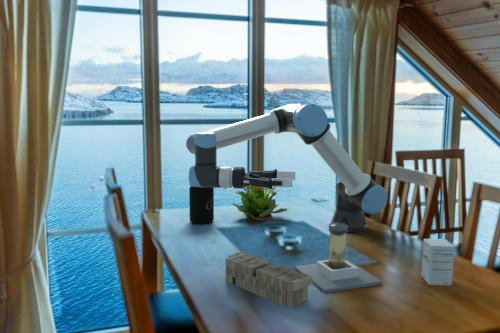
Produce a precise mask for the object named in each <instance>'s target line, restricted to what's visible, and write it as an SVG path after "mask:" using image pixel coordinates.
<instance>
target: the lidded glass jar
mask: <svg viewBox="0 0 500 333" xmlns="http://www.w3.org/2000/svg"><path fill="white" fill-rule="evenodd" d="M328 232H329V249H328V250H329V253H328V260H329V267H330V268H331V269H333V270H334V269H342V268H345V260H346V247H347V246H346V243H347V233H349V232H348V225H347V224H345V223H339V222H334V223H331V222H330V223H329V224H328Z"/></svg>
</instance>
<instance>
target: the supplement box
mask: <svg viewBox="0 0 500 333" xmlns="http://www.w3.org/2000/svg"><path fill="white" fill-rule="evenodd" d="M422 244H423V245H422V256H421V260H422V261H421V269H420V270H421V271H420V272H421V273H420V274H421V275H420V276H421V277H422V278H423V279H424V281H425V282H426V283H427V285H430V286H451V285H450V284H453V283H452V282H453V272H454V263H455V262H454V261H455V251H456V250H455V248H456V246H454V245H453V244H452V243H451V242H450V241H449V240H447V239H445V238H423V242H422Z"/></svg>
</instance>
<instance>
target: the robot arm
mask: <svg viewBox="0 0 500 333" xmlns="http://www.w3.org/2000/svg"><path fill="white" fill-rule="evenodd" d="M272 133H273V134H275V135H279V134H282V133H294V134H297V135H298V137H299V138H300V139H301V140H302V141H303V142H304V144H305V145H307V146H312V147H313V148H314V150H315V151H316V153H317V154H318V155H319V156H320V157H321V158H322V160H323V161H324V162H325V163H326V165H327V166H328V167H329V168H330V169H331V171H332V172H333V173H334V174H335V176H336V177H337V178H336V183H335V184H336V189H335V190H336V191H335V192H336V193H335V210H334V213H333V215H332V219H331V221H330V223H334V222H339V223H345V224H347V225H348V232H347V233H361V232H365V231H367V229H368V228H367V219H366V216H365V213H366V214H370V215H376V214H378V213H380V212H382V211H383V210H384V209H385V207H386V205H387V203H388V197H389V196H388V192H387V190H386V189H385V188H384V187H382V185H379V184H377V183H376V182H375V180H374V179H373V178H372V177H371V175H370V174H368V173H364V172H363V171H362V170H361V169H360V168H359V166H358V165H357V164H356V162H355V161H354V160H353V158H352V157H351V156H350V155H349V154H348V153H347V151H346V150H345V149H344V147H343V146H342V145H341V144H340V142H339V140H338V139H337V138H336V137H335V136H334V134H333V133H332V132H331V124H330V122H328V114H327V113H326V111H325V109H323V108H322V107H321V106H320V105H318V104H315V103H311V102H291V103H288V104H285V105H283V106H279V107H277V108H274V109H270V110H268V112H267V113H266V114H263V115H259V116H255V117H253V118H249V119H246V120H243V121H239V122H235V123H232V124H228V125H225V126H221V127H217V128H214V129H211V130H208V131H201V132H197V133H196V132H195V133H193V134H190V135H189V136H188V137H187V139H186V141H185V146H186V147H185V148H186V149H187V151H188V152H189V153H191V155H194V158H195V161H194V165H192V166H190V167H189V170H188V182H189V183H190V185H191V186H193V187H202V188H214V189H222V188H223V190H227V189H232V188H233V189H238V190H239V189H242V190H243V189H245V188H244V186H245V185H250V186H257V187H260V188H261V187H262V188H263V187H264V188H266V189H267V188H269V189H272V187H276V188H293V180H296V171H285V170H283V171H282V170H281V171H278V169H277V168H274V169H273V170H257V171H255V170H250V171H249V172H246V168H245V167H244V166H235V167H233V166H217V159H218V158H217V154H218V153H217V150H219V149H222V148H226V147H229V146H233V145H236V144H240V143H242V142H246V141H249V140H252V139H256V138H260V137H262V136H266V135H268V134H272ZM190 185H189V186H190Z"/></svg>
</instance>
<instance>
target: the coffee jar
mask: <svg viewBox="0 0 500 333" xmlns="http://www.w3.org/2000/svg"><path fill="white" fill-rule="evenodd" d="M214 189H215V188H202V187H193V186H191V185H190V183H189V190H188V191H189V193H188V194H189V195H188V196H189V197H188V198H189V222H190V223H191V224H192V225H194V226H195V225H196V226H206V225H211V224H212V223H213V222H214V220H215V215H214V214H215V213H214V212H215V207H214V206H215V203H214V202H215V190H214Z"/></svg>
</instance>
